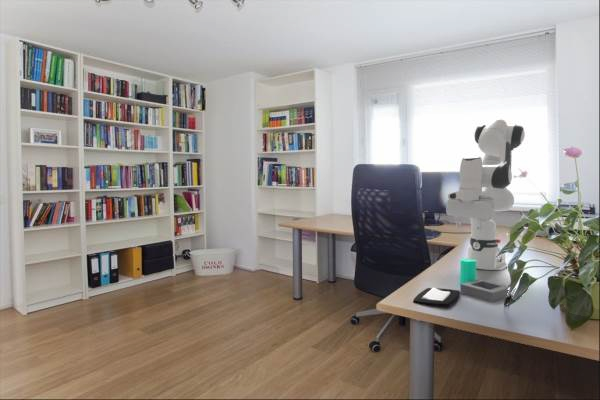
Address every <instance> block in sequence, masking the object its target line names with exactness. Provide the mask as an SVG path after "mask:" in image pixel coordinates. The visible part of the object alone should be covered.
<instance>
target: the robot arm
mask: <svg viewBox="0 0 600 400" xmlns="http://www.w3.org/2000/svg"><path fill="white" fill-rule="evenodd" d="M473 135H474V140H475V143H476V144H477V145H478V148H479V150H480V151H481V152H482V153H484V154H485V155H484V157H483V159H482V156H477V155H473V156H471V155H470V156H465V157H463V158H461V162H460V165H459V166H460V167H459V176H458V177H459V178H458V179H459V186H458V190H457V191H454V192H451V193H448V194H447V199H448V200H447V201H446V207H445V208H446V209H445V213H446V215H447V216H449V217H453V220H454V222H455V223H456V224H455V227H456V228H462V227H463V226H462V225H463V224H462V222H461V221H460V218H468V219H469V221H470V226H471V227H470V228H471V232H470V233H471V234H470V235H471V237H470V239H469V245H470V246H469V247H468V248H467V256H466V259H468V256H469V259H472V260H476V270H477V269H478V270H483V271H484V270H487V271H491V270H493V271H503V270H505V269H507V268H508V267H507V264H508V263H509V262H507V261H506V253H505V254H504V255H501V256H499V257H497V258H496V259H495V257H496V256H497V255H498V254H499V252H500V251H501V250H502V249H501V248H500V247H499V244H501V242H502V241H501V239H500V238H497V224H496V222H495V220H494V219H495V218H496V212H498V213H499V212H504V211H505V212H507V211H510V210H511V208H513V205H514V204H515V197H514V195H513V193H512V192H511V191H510V190H509V189H508V187H509V186H510V184H511V183H512V179H513V174H512V151H514V149H517V148H519V146H521V145H522V143H523V142H524V139H525V135H526V133H525V130H524V127H523V126H521V125H518V124H508V123H507V122H506V121H505V120H504V119H503V118H498V117H496V118H492V119H490V120H489V121H488V122H487V123H481V124H478V126H476V128H475V130H474V133H473ZM506 267H507V268H506Z"/></svg>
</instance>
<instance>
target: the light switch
mask: <svg viewBox="0 0 600 400" xmlns="http://www.w3.org/2000/svg"><path fill="white" fill-rule="evenodd" d="M460 296H461V293H460V289H459V290H458V289H451V288H450V289H449V288H439V287H438V288H437V287H427V288H425V289H424V290H422V291H420V293H418V294H417V295H416V296H415V297H414V299H413V301H412V302H413V303H414V304H417V305H421V306H430V307H443V308H448V307H450V306H452V305H453V304H455V302H456V301H457V300H458V299H459V297H460Z"/></svg>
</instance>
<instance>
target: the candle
mask: <svg viewBox="0 0 600 400" xmlns="http://www.w3.org/2000/svg"><path fill="white" fill-rule="evenodd" d="M459 271H460V274H459V279H460V280H459V283H460V285H461V284H462V283H466V282H470V281H473V280H477V268H476V260H472V259H469V256H468V259H467V258H463V257H462V258H461V259H460V270H459Z"/></svg>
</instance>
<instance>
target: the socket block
mask: <svg viewBox="0 0 600 400" xmlns="http://www.w3.org/2000/svg"><path fill="white" fill-rule="evenodd" d="M508 286H509V285H507V284H503V283H498V282H494V281H491V280H486V279H482V278H478V279H477V278H476V280H473V281H470V282H466V283H462V284H460V289H459V291H460V294H463V295H467V296H470V297H474V298H477V299H479V300H480V299H481V300H483V301H487V302H490V303H494V302H497V301H501V300H503V299H506V298H507V297H506V296H507V293H508V291H509V290H507V287H508ZM505 297H506V298H505Z"/></svg>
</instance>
